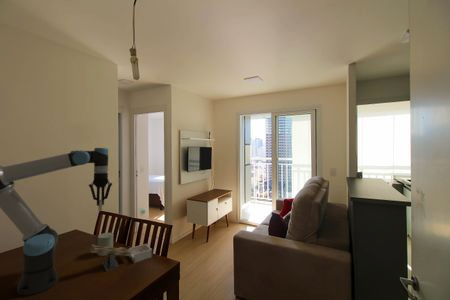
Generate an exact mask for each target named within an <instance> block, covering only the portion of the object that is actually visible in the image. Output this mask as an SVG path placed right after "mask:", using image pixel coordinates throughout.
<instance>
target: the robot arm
mask: <svg viewBox="0 0 450 300" xmlns="http://www.w3.org/2000/svg"><path fill="white" fill-rule="evenodd" d="M86 164H93V172H94V173H93V181H92V183H90V184H88V187H89V189H90V192H91V194H92V199H93V201H94V200H95V201H96V206H98V212H102V211H103V206H104V205H105V200H107V199H108V197H109V194H110V190H111V188H112V186H113V183H112V182H110V181H109V176H108V175H109V173H108V171H109V148H107V147H94V150H77V149H76V150H71V151H70V152H68V153H63V154H59V155H53V156H50V157H45V158H40V159H34V160H31V161H25V162H20V163H15V164H12V165H6V166H3V165H0V209H1V211H2V212H3V213H4V214H5V215H6V216H7V218H8V219H9V220H10V221H11V222H12V224H13V225H14V226H15V227H16V228H17V229H18V231H19V232H20V233H21V235H23V236H22V238H21V239H22V241H23V242H24V243H23V247H22V252H23V254H22V274H21V277H20V280H19V282H18V284H17V288H16V289H17V294H18V295H19V296H30V295H36V294H39V293H42V292H44V291H46V290H48V289H51V288H52V287H53V286H56V284H57V282H58V280H59V279H58V278H59V275H58V272H57V270H56V268H55V249H56V246H57V244H58V242H59V234H58V232H57V231H56V230H55V229H54V228H51V227H50V226H49V225H48V223H43V222H41V220H40V219H39V217H37V216H36V214H35V213H34V212H33V210H32V209H31V208H30V207H29V205H28V204H27V203H26V202H25V201H24V199H23V198H22V197H21V196H20V194H19V193H18V192H17V190H15V188H14V187H15V185H16V183H15V181H19V180H23V179H24V180H25V179H28V178H32V177H36V176H40V175H44V174H48V173H53V172H57V171H60V170H65V169H69V168H73V167H77V166H83V165H86ZM94 186H95V187H96V192H95V189H94ZM105 187H106V188H105ZM100 189H101V190H100ZM105 189H106V190H105ZM100 195H101V196H100Z"/></svg>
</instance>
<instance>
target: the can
mask: <svg viewBox="0 0 450 300" xmlns="http://www.w3.org/2000/svg"><path fill="white" fill-rule="evenodd" d="M97 246H102V247H111V248H114V232H113V233H112V232H104V233H100V234H98V235H97ZM96 254H97V256H99V257H105V256H106V257H107V254H101V253H96Z"/></svg>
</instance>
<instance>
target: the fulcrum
mask: <svg viewBox="0 0 450 300" xmlns="http://www.w3.org/2000/svg"><path fill="white" fill-rule="evenodd" d="M101 263H102V267H103V268H104V271H105V272H108V271H112V270H115V269H118V268H120V264H119V263H118V261H117V259H116V255H115V253H114V254H110V255H109V254H107V255H106V261H103V262H101Z"/></svg>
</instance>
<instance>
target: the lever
mask: <svg viewBox="0 0 450 300" xmlns="http://www.w3.org/2000/svg"><path fill="white" fill-rule="evenodd" d="M89 248H90V249H89V251H90V253H91V254H93V253H94V254H97V253H101V254H109V255H110V254H114V253H115V256H124V257H125V256H127V257H129V256H130V255H131V253H132V252H129V248H128V249H127V247H122V246H119V247H113V248H111V247H102V246H98V245H95V244H93V243H92V244H91V246H90V247H89Z"/></svg>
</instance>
